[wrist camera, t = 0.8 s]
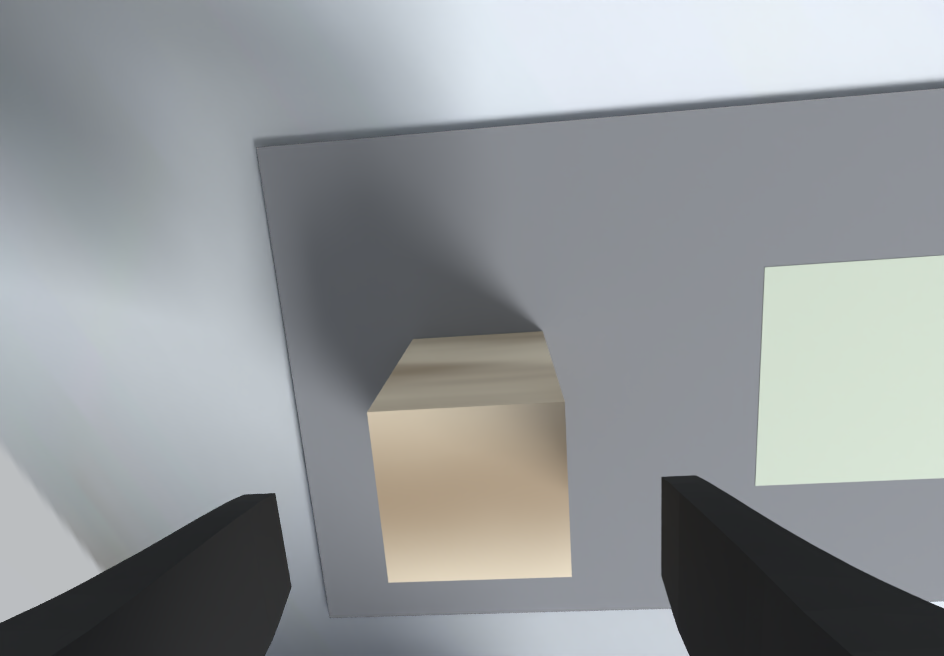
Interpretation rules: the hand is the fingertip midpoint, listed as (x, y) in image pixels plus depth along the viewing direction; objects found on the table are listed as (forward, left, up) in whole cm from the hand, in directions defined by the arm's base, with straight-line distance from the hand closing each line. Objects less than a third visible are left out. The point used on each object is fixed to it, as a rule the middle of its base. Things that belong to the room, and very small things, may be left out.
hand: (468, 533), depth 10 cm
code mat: (0, -6, -8) cm, 10 cm away
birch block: (0, 0, -7) cm, 7 cm away
